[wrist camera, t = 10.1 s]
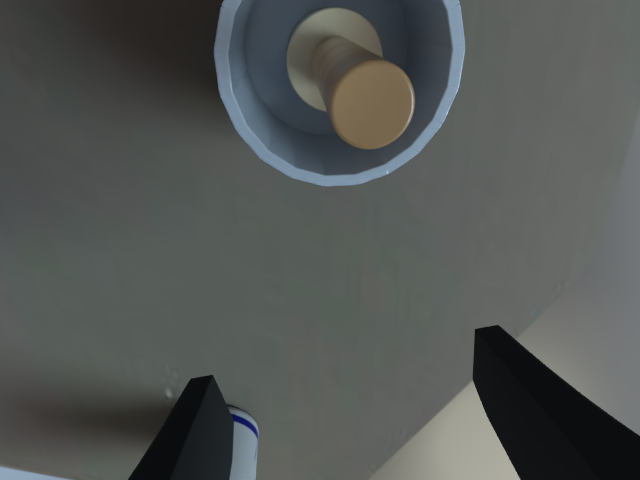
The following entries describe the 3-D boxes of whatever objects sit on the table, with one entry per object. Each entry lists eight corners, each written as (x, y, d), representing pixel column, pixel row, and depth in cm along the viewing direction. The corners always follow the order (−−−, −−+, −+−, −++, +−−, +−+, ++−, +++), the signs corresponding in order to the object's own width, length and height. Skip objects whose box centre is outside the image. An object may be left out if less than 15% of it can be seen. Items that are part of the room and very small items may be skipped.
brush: (271, 65, 16) (251, 131, 7) (317, -14, 14) (358, -43, 6) (336, 112, 17) (383, 216, 8) (384, 43, 15) (496, 84, 7)
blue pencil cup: (205, 76, 16) (171, 104, 12) (302, -109, 13) (309, -172, 9) (343, 168, 19) (361, 222, 14) (448, 28, 16) (516, 36, 11)
